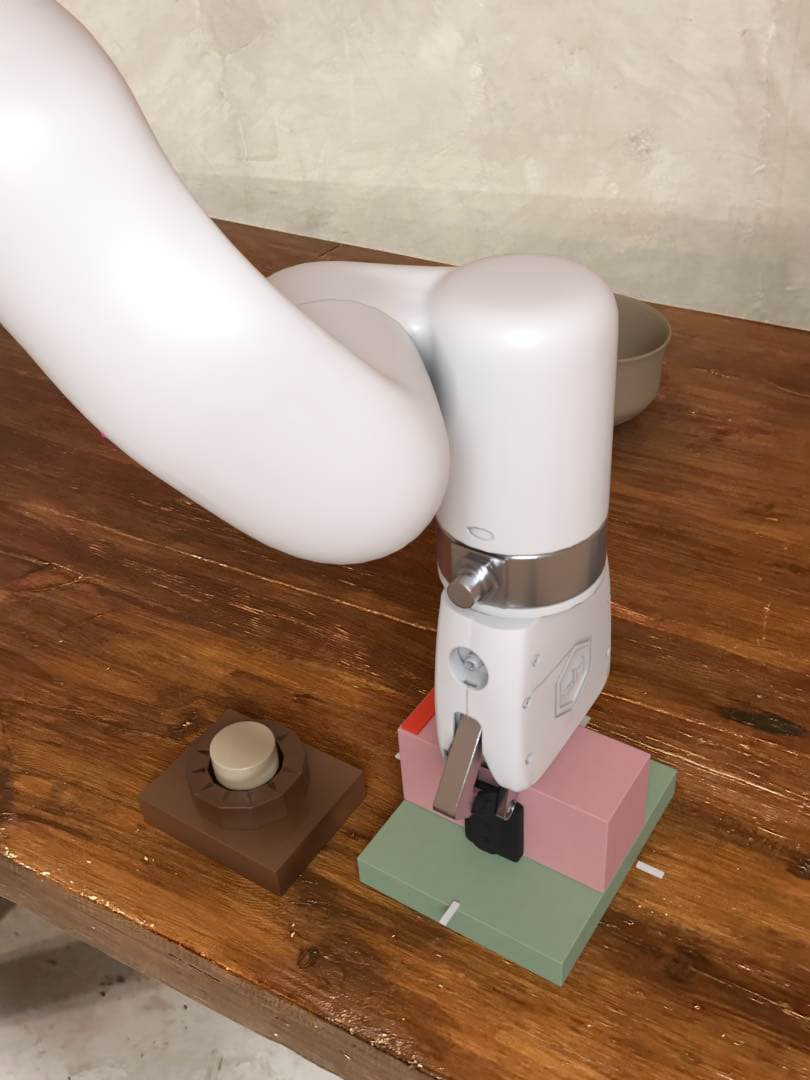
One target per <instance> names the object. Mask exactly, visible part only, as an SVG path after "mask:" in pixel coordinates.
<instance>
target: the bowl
mask: <svg viewBox="0 0 810 1080" xmlns="http://www.w3.org/2000/svg"><path fill="white" fill-rule="evenodd" d="M613 294H614V297H615V300H616V304H617V308H618V350H617V369H616V387H615V406H614V424H613V428H615V427H617V426H619V425H622V424H625V423H627V422H629V421H630V420H633V419H635V417H637V416H638V415H639V414H641V413H642V412H643V411H644V410H645V409H646V408H647V407H648V406H650V405H651V403H652V402H653V401H654V400H655V398H656V396H657V394H658V392H659V389H660V385H661V381H662V380H661V378H662V372H663V365H664V360H665V354H666V350H667V346H668V345H669V342H670V340H671V338H672V333H673V332H672V326H671V324H670V322H669V320H668V319H667V317H666V316H665V315H664V314H663V313H662V312H660V311H659V310H658V309H656V308H655V307H653V306H652V305H650V304H648V303H646V302H644V301H641V300H639V299H636V298H634V297H631V296H627V295H624V294H621V293H616V292H613Z"/></svg>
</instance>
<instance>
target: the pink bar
mask: <svg viewBox="0 0 810 1080" xmlns="http://www.w3.org/2000/svg"><path fill="white" fill-rule="evenodd" d="M397 739H398V741H397V742H398V751H399V753H400V760H399V761H400V771H401V781H402V782H401V783H402V792H403V793H402V794H403V799H406V800H408V801H410V802H412V803H414V804H416V805H418V806H420V807H422V808H425V809H427V810H429V811H431V812H433V813H435V814H437V815H439V816H441V817H443V818H446V819H448V820H450V821H452V822H454V823H456V824H458V825H460V826H462V827H464V828H465V820H464V819H462V820H458V821H456V820H453V819H451V818H449V817H447V816H445V815H443V814H441V813H439V812H437V811H434V810H433V802H434V799H435V796H436V793H437V789H438V786H439V783H440V780H441V777H442V774H443V771H444V767H445V764H446V760H444V758H443V756H442V754H441V751H440V748H439V743H438V738H437V731H436V721H435V686H434V687H433V688H432V689H431V690H430V691H429V692H428V693H427V695H425V697H424V698H423V699H422V700H421V701H420V702H419V704H418V705H417V706H416V707H415V708H414V710H413V711H412V712H410V714H409V715H408V716H407V717H406V718H405V720H404V721H403V722H402V723H401V724H400V725H399V727H398V728H397ZM651 758H652V755H651V753H649V752H647V751H644V750H642V749H640V748H637V747H635V746H633V745H629V744H627V743H625V742H622V741H619V740H618V739H617V740H616V739H615V738H613V737H609V736H607V735H604V734H602V733H600V732H597V731H595V730H592V729H590V728H587V727H586V726H585V727H582V726H580V725H578V727H577V728H576V729H575V731H574V732H573V734H572V735H571V736H570V738H569V739H568V741H567V742H566V743H565V745H564V746H563V748H562V749H561V750H560V752H559V753H558V755H557V756H556V757H555V759H554V760H553V761H552V763H551V764H550V765H549V767H548V768H547V770H546V771H545V772H544V773H543V775H542V776H541V777H540V778H539V780H538V781H537V782H536V783H535V784H533V785H532V786H530V787H529V788H527V789H525V790H523V791H520V792H518V794H517V801H516V802H518V803H520V804H521V805H522V806H523V807H524V854H523V856H525V857H528V858H530V859H532V860H534V861H536V862H538V863H540V864H542V865H544V866H547V867H549V868H551V869H553V870H555V871H557V872H559V873H561V874H563V875H565V876H568V877H570V878H572V879H574V880H576V881H578V882H580V883H582V884H584V885H586V886H589V887H591V888H593V889H595V890H597V891H599V892H601V893H604V891H605V890H606V888H607V886H608V885H609V883H610V881H611V880H612V878H613V876H614V875H615V873H616V871H617V869H618V868H619V866H620V864H621V863H622V861H623V859H624V858H625V856H626V854H627V853H628V851H629V849H630V848H631V846H632V844H633V843H634V841H635V839H636V838H637V836H638V834H639V833H640V831H641V829H642V828H643V826H644V819H645V809H646V799H647V789H648V779H649V769H650V759H651ZM478 780H482V781H484V782H486V783H488V784H491V785H493V786H495V787H497V788H499V784H498V783H497V782H496V780H495V779H494V777H493V775H492V773H491V771H490V770H488V769H486V768H484V767H481V766H480V772H479V778H478Z"/></svg>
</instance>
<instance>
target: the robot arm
mask: <svg viewBox="0 0 810 1080" xmlns="http://www.w3.org/2000/svg"><path fill="white" fill-rule="evenodd" d="M613 293H614V292H613V289H612V288H611V287H610V285H609V284H608V282H607V281H606V280H605V278H604V277H603V276H602V275H601V274H600V273H598V272H597V271H596V270H595V269H593V268H592V267H589V266H588V265H586V264H584V263H582V262H581V261H577V260H575V259H572V258H569V257H564V256H560V255H555V254H549V253H540V252H539V253H537V252H516V253H515V252H513V253H503V254H495V255H491V256H490V255H489V256H486V257H481V258H477V259H474V260H472V261H469V262H466V263H464V264H461V265H456V266H445V265H444V266H439V265H438V266H437V265H436V266H435V265H434V266H433V265H413V264H412V265H411V264H392V263H378V262H365V261H349V260H347V261H346V260H321V261H309V262H304V263H303V262H302V263H300V264H296V265H293V266H289V267H285V268H282V269H280V270H278V271H276V272H274V273H272V274H271V275H269V276H268V277H265V275H263V273H261V271H260V270H258V269H257V268H256V267H255V266H254V265H253V264H252V263H251V262H250V260H249V259H248V258H247V257H246V256H245V255H244V254H243V253H242V252H241V251H240V250H239V249H238V248H237V247H236V245H234V244H233V243H232V242H231V241H230V239H229V238H228V237H227V236H226V234H225V233H224V232H223V231H222V230H221V229H220V227H219V226H218V225H217V224H216V223H215V221H213V219H212V218H211V217H210V216H209V215H208V213H207V212H206V211H205V210H204V208H203V207H202V205H201V204H200V203H199V201H198V200H197V199H196V197H195V196H194V195H193V194H192V192H191V191H190V190H189V188H188V187H187V186H186V184H185V183H184V181H183V179H182V178H181V177H180V175H179V173H178V172H177V170H176V169H175V168H174V166H173V164H172V163H171V161H170V160H169V157H168V156H167V154H166V152H165V151H164V149H163V147H162V146H161V144H160V142H159V141H158V138H157V137H156V135H155V133H154V131H153V129H152V127H151V125H150V123H149V121H148V120H147V117H146V116H145V114H144V112H143V110H142V108H141V105H140V104H139V102H138V101H137V99H136V96H135V95H134V93H133V91H132V89H131V88H130V86H129V84H128V82H127V81H126V79H125V78H124V75H122V73H121V71H120V70H119V68H118V67H117V65H116V64H115V62H114V61H113V59H112V58H111V57H110V55H109V54H108V52H107V51H106V50H105V49H104V47H103V46H102V45H101V44H100V42H99V41H98V40H97V39H96V37H95V36H94V35H93V34H92V33H91V32H90V30H89V29H88V28H87V27H86V26H85V25H84V24H83V23H82V22H81V21H80V20H79V19H78V18H77V17H76V16H74V15H73V14H72V13H71V12H70V11H69V10H68V9H67V8H66V7H64V6H63V5H62V4H61V3H59V2H58V1H57V0H0V325H2V327H3V328H4V329H5V330H6V331H7V332H8V334H9V335H10V336H11V337H12V338H13V339H14V340H15V341H16V342H17V343H18V345H20V347H21V348H23V349H24V351H25V352H26V353H27V355H28V356H29V357H31V359H32V360H33V361H34V362H35V364H36V365H37V366H38V367H39V368H40V369H41V371H42V372H43V373H44V374H45V375H46V377H47V378H48V379H49V380H50V381H51V382H52V384H54V386H56V388H57V389H58V391H60V392H61V394H63V396H64V397H66V399H67V400H68V402H70V403H71V404H72V405H73V406H74V407H75V408H76V410H78V411H79V413H81V414H82V415H83V416H84V418H86V420H88V421H89V422H90V423H91V424H92V425H93V427H95V428H96V429H97V430H98V431H99V432H100V431H101V432H102V433H103V434H104V435H105V436H106V437H107V438H106V439H108V441H110V442H111V443H113V444H114V445H115V446H116V447H117V448H118V449H120V450H121V452H123V453H125V454H126V455H127V456H128V457H129V458H130V459H132V460H133V461H135V462H136V463H137V464H139V466H141V467H143V468H144V469H145V470H147V471H148V472H150V473H151V474H152V475H154V476H155V477H157V478H158V479H159V480H161V481H162V482H163V483H166V484H167V485H169V486H170V487H172V488H173V489H174V490H176V491H178V492H179V493H181V494H182V495H184V496H185V497H186V498H188V499H190V500H191V501H193V502H195V504H197V505H199V506H201V507H202V508H204V509H205V510H207V511H208V512H210V513H211V514H213V515H214V516H216V517H217V518H219V519H220V520H222V521H223V522H225V523H227V524H228V525H230V526H231V527H233V528H235V529H237V530H238V531H239V532H241V533H244V534H245V535H247V536H249V537H251V538H253V540H256V541H258V542H260V543H261V544H263V545H265V546H267V547H270V548H272V549H275V550H277V551H279V552H282V553H284V554H288V555H289V556H291V557H294V558H297V559H301V560H306V561H310V562H314V563H317V564H318V563H319V564H329V565H340V566H344V565H355V564H356V565H357V564H365V563H368V562H371V561H375V560H379V559H382V558H386V557H388V556H389V555H392V554H394V553H396V552H398V551H400V550H402V549H403V548H404V547H406V546H408V545H409V544H410V543H411V542H413V541H414V540H415V539H417V538H418V537H419V536H420V535H421V534H422V533H423V531H425V530H426V528H427V527H428V526H429V525H430V524H431V523H432V521H433V519H434V528H435V529H434V530H435V531H434V532H435V547H436V564H437V572H438V577H439V580H440V583H441V584H442V586H443V589H442V592H441V594H440V601H439V602H440V603H439V609H438V618H437V629H436V639H435V655H434V656H435V657H434V687H435V721H436V731H437V738H438V743H439V748H440V751H441V754H442V756H443V758H444V760H446V764H445V767H444V771H443V774H442V777H441V780H440V783H439V786H438V789H437V793H436V796H435V799H434V802H433V810H434V811H437V812H439V813H441V814H443V815H445V816H447V817H449V818H451V819H453V820H456V821H458V820H462V819H464V820H465V836H466V838H467V839H468V840H469V841H471V842H472V843H474V845H475V846H476V847H478V848H479V849H481V850H483V851H485V852H487V853H489V854H498V855H500V856H502V857H504V858H506V859H508V860H510V861H512V862H518V861H519V860H520V858H521V857H522V855H523V854H524V807H523V806H522V805H521V804H520V803H518V802H516V801H517V794H518V792H520V791H523V790H525V789H527V788H529V787H530V786H532V785H533V784H535V783H536V782H537V781H538V780H539V778H540V777H541V776H542V775H543V773H544V772H545V771H546V770H547V768H548V767H549V765H550V764H551V763H552V761H553V760H554V759H555V757H556V756H557V755H558V753H559V752H560V750H561V749H562V748H563V746H564V745H565V743H566V742H567V741H568V739H569V738H570V736H571V735H572V734H573V732H574V731H575V729H576V728H577V727H578V725H579V724H580V722H581V721H582V719H583V718H584V716H585V715H586V716H587V714H588V712H589V711H590V709H591V708H592V706H593V705H594V703H595V702H596V700H597V699H598V698H599V696H600V694H601V692H602V691H603V689H604V687H605V685H606V683H607V680H608V678H609V676H610V671H611V655H612V654H611V653H612V652H611V651H612V650H611V649H612V597H611V593H612V592H611V578H610V577H611V575H610V565H609V557H608V551H607V548H608V533H609V532H608V530H609V514H610V513H609V512H610V498H611V497H610V496H611V475H612V460H613V443H614V442H613V440H614V427H613V424H614V406H615V387H616V369H617V350H618V308H617V304H616V300H615V297H614V294H613ZM101 432H100V433H101ZM480 766H481V767H484V768H486V769H488V770H490V771H491V773H492V775H493V777H494V779H495V780H496V782H497V783H498V784H499V788H497V787H495V786H493V785H491V784H488V783H486V782H484V781H482V780H478V778H479V772H480Z"/></svg>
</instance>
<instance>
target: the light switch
mask: <svg viewBox="0 0 810 1080" xmlns="http://www.w3.org/2000/svg"><path fill="white" fill-rule="evenodd" d="M243 721H252V722H258V723H261V724H263V725H265V726H267V727H268V728H269V729H270V730H271V731H272V733H273V734H274V737H275V741H276V747H277V752H278V757H279V766H278V769H277V771H276V773H275V775H274V776H273V777H272V779H270V780H269V781H268V782H267V783H266V784H264V785H262V786H260V787H258V788H255V789H252V790H247V791H236V790H231V789H228V788H226V787H224V786H223V785H222V784H220V783H219V781H218V780H217V779H216V777H215V773H214V769H213V765H212V761H211V757H210V744H211V742H212V740H213V738H214V737H215V735H216V734H217V733H218V732H219V731H220V730H222V729H223V728H225V727H227V726H229V725H231V724H234V723H237V722H243ZM366 797H367V788H366V781H365V774H364V770H362V769H360V768H358V767H356V766H354V765H353V764H349V763H348V762H345V761H344V760H341V759H339V758H337V757H335V756H332V755H331V754H328V753H327V752H324V751H322V750H320V749H317V748H316V747H313V746H311V745H310V744H307V743H305V742H302V741H301V739H300V737H299V736H298V734H297V732H296V730H293V729H291V728H290V727H288V726H285V725H283V724H281V723H279V722H276V721H274V720H272V719H269V718H268V719H266V718H265V719H264V718H263V719H262V718H261V719H259V718H256V719H253V718H251V717H250V716H248V715H245V714H243V713H241V712H239V711H237V710H235V709H232V708H228V709H226V711H224V712H223V713H222V715H220V716H219V717H218V718H217V719H216V720H215V721H214V722H213V723H212V724H211V725H210V726H209V727H207V729H205V730H204V731H203V733H201V734H200V735H199V736H198V737H197V739H195V740H194V741H193V742H192V743H191V744H189V746H188V747H186V749H185V750H184V751H183V752H181V754H179V756H177V757H176V758H175V759H174V760H173V762H171V763H170V764H169V765H168V766H167V767H166V768H165V769H164V770H163V771H162V772H160V774H158V776H156V777H155V778H154V779H153V780H152V781H151V782H150V783H149V784H148V785H147V786H146V787H145V788H144V789H143V790H142V791H141V792H140V793H138V795H137V796H136V798H137V802H138V804H139V807H140V808H139V809H140V811H141V815H142V817H143V821H144V823H146V824H149V825H150V826H152V827H154V828H156V829H157V830H159V831H161V832H162V833H164V834H166V835H168V836H170V837H172V838H173V839H175V840H176V841H178V842H181V843H182V844H184V845H186V846H188V847H190V848H191V849H193V850H195V851H197V852H198V853H199V854H202V855H204V856H205V857H207V858H209V859H211V860H213V861H214V862H217V863H218V864H220V865H222V866H223V867H225V868H227V869H229V870H230V871H232V872H234V873H236V874H238V875H240V876H241V877H243V878H245V879H247V880H249V881H250V882H252V883H253V884H256V885H258V886H259V887H261V888H263V889H265V890H266V891H268V892H270V893H272V894H274V895H275V896H277V897H279V898H282V897H283V896H284V895H285V894H286V892H287V891H288V890H289V889H290V887H291V886H292V885H293V884H294V883H295V881H296V880H298V878H299V877H300V876H301V875H302V873H303V872H304V871H305V869H307V868H308V866H309V865H310V864H311V863H312V861H313V860H314V859H315V858H316V857H317V856H318V854H319V853H320V852H321V851H322V849H323V848H324V847H325V846H326V845H327V844H328V843H329V841H330V840H331V839H332V838H333V837H334V835H335V834H336V833H337V832H338V831H339V829H341V827H342V826H343V825H344V824H345V822H346V821H347V820H348V819H349V818H350V817H351V816H352V815H353V813H354V812H355V811H356V810H357V808H358V807H359V806H360V805H361V804H362V802H363V801H365V799H366Z"/></svg>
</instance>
